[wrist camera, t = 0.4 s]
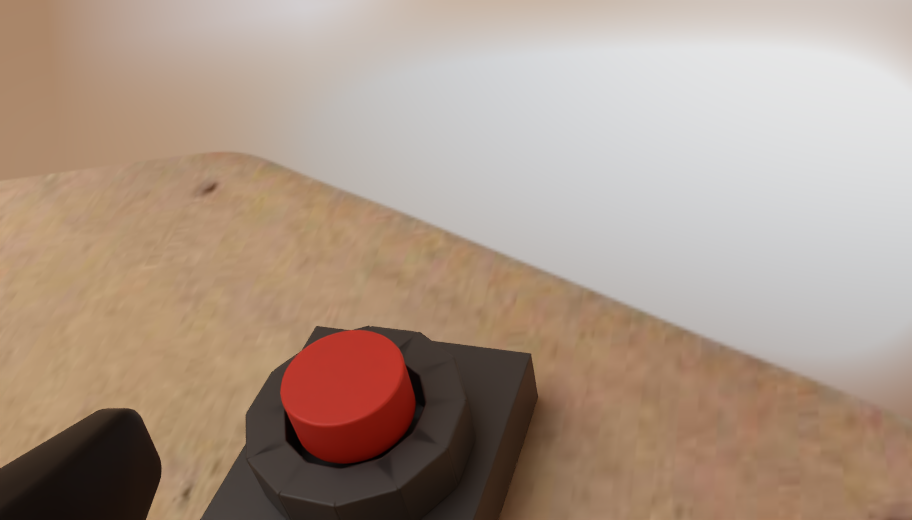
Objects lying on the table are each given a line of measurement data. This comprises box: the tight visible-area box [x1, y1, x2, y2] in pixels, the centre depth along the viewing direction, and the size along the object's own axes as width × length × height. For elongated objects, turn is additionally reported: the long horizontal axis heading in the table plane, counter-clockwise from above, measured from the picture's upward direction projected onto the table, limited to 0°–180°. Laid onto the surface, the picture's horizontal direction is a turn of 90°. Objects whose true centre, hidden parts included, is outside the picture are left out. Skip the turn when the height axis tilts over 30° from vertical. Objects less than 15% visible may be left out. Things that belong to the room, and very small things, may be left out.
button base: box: [200, 326, 538, 520], centre depth 26 cm, size 9×8×4 cm
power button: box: [280, 330, 416, 464], centre depth 25 cm, size 4×4×2 cm
